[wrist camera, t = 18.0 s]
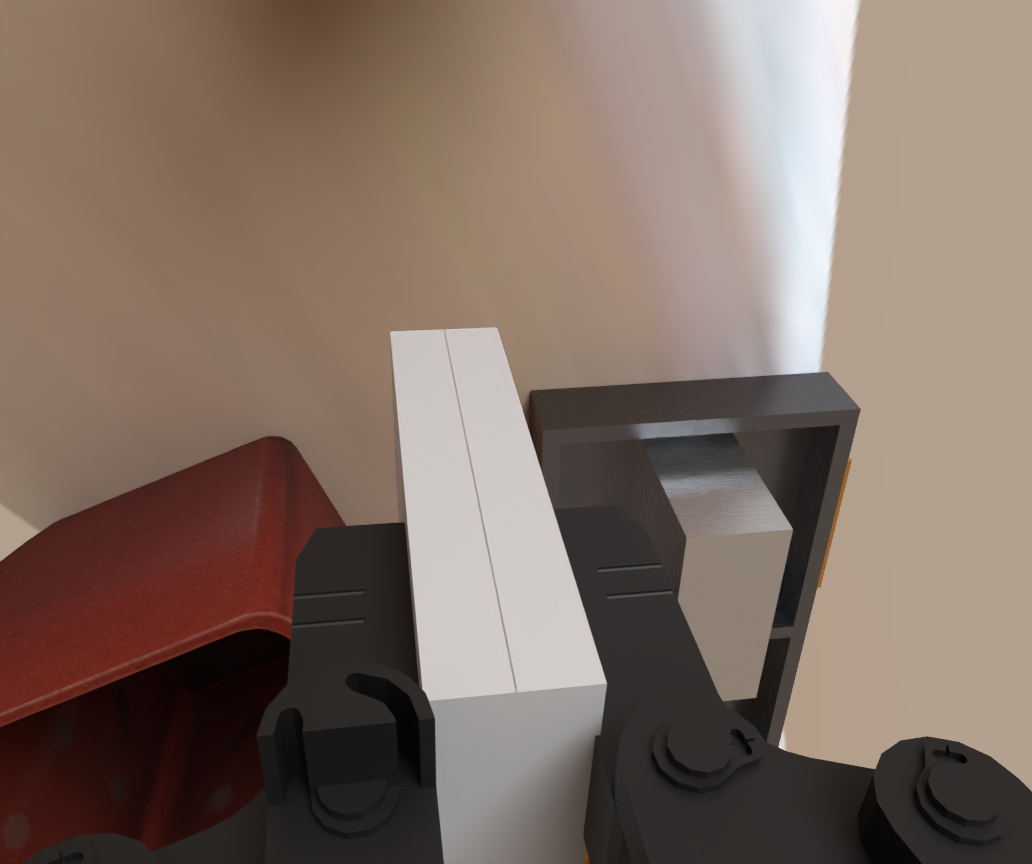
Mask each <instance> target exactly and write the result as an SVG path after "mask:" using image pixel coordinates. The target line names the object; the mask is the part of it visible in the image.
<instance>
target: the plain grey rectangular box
mask: <svg viewBox="0 0 1032 864" xmlns="http://www.w3.org/2000/svg"><path fill="white" fill-rule="evenodd" d="M630 515H631V516H632V517H633V518H634V519H635V520H636V521H637V522H638V523H639V524H641V525H642V526H643V527H644V528H645V529H646V530H647V531H648V533H649V535H650V538H651V540H652V542H653V544H654V547H655V549H656V551H657V554H658V556H659V558H660V560H661V566H662V569H664V570H665V572H666V574H667V577H668V579H669V581H670V583H671V586H672V588H673V595H674V596H676V597H677V600H678V602H679V604H680V606H681V609H682V611H683V613H684V616H685V618H686V620H687V623H688V625H689V627H690V629H691V632H692V634H693V636H694V639H695V641H696V643H697V645H698V648H699V650H700V652H701V655H702V657H703V659H704V662H705V664H706V666H707V668H708V671H709V673H710V675H711V678H712V680H713V682H714V685H715V687H716V689H717V691H718V694H719V695H720V697H721V699H722V700H723V701H730V700H739V699H749V698H756V696H757V692H758V687H759V683H760V678H761V674H762V669H763V665H764V660H765V655H766V651H767V646H768V642H769V637H770V633H771V628H772V623H773V619H774V614H775V610H776V605H777V601H778V596H779V591H780V587H781V582H782V578H783V573H784V569H785V564H786V560H787V555H788V550H789V546H790V541H791V537H792V532H793V528H792V527H791V525H790V524H789V522H788V520H787V519H786V517H785V516H784V514H783V512H782V511H781V509H780V508H779V506H778V505H777V503H776V501H775V500H774V498H773V497H772V495H771V493H770V492H769V490H768V489H767V487H766V485H765V484H764V482H763V481H762V479H761V477H760V476H759V474H758V473H757V471H756V470H755V468H754V466H753V465H752V463H751V462H750V460H749V458H748V457H747V455H746V454H745V452H744V450H743V449H742V447H741V446H740V444H739V442H738V441H737V439H736V438H735V436H734V435H733V433H719V434H705V435H691V436H676V437H662V438H648V439H637V443H636V454H635V464H634V474H633V485H632V495H631V505H630Z"/></svg>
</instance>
